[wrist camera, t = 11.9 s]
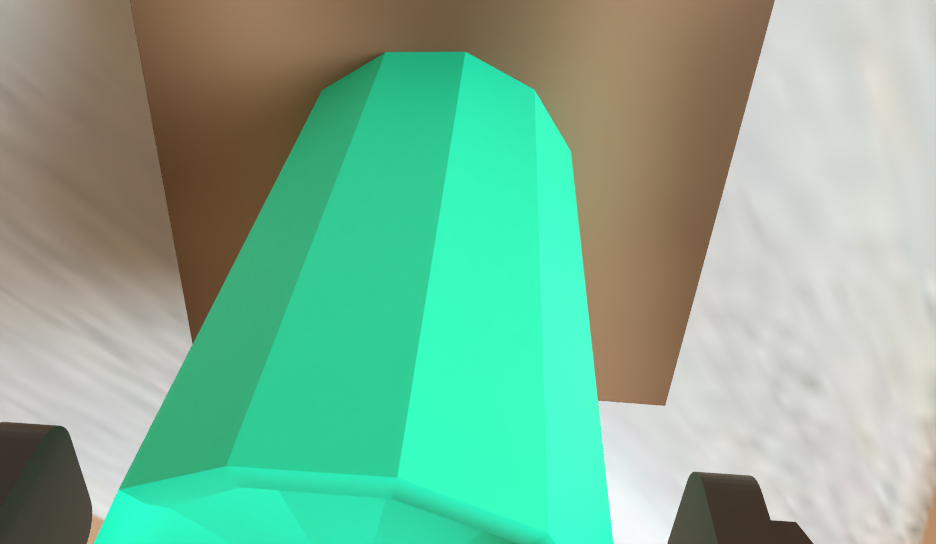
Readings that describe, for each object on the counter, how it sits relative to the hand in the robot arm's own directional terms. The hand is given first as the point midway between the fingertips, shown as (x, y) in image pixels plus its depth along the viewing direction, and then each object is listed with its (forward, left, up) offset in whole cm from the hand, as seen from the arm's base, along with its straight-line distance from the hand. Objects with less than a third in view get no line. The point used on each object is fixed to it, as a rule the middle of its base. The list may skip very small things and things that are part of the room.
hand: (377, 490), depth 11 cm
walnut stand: (0, 0, -13) cm, 13 cm away
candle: (0, 0, -9) cm, 9 cm away
